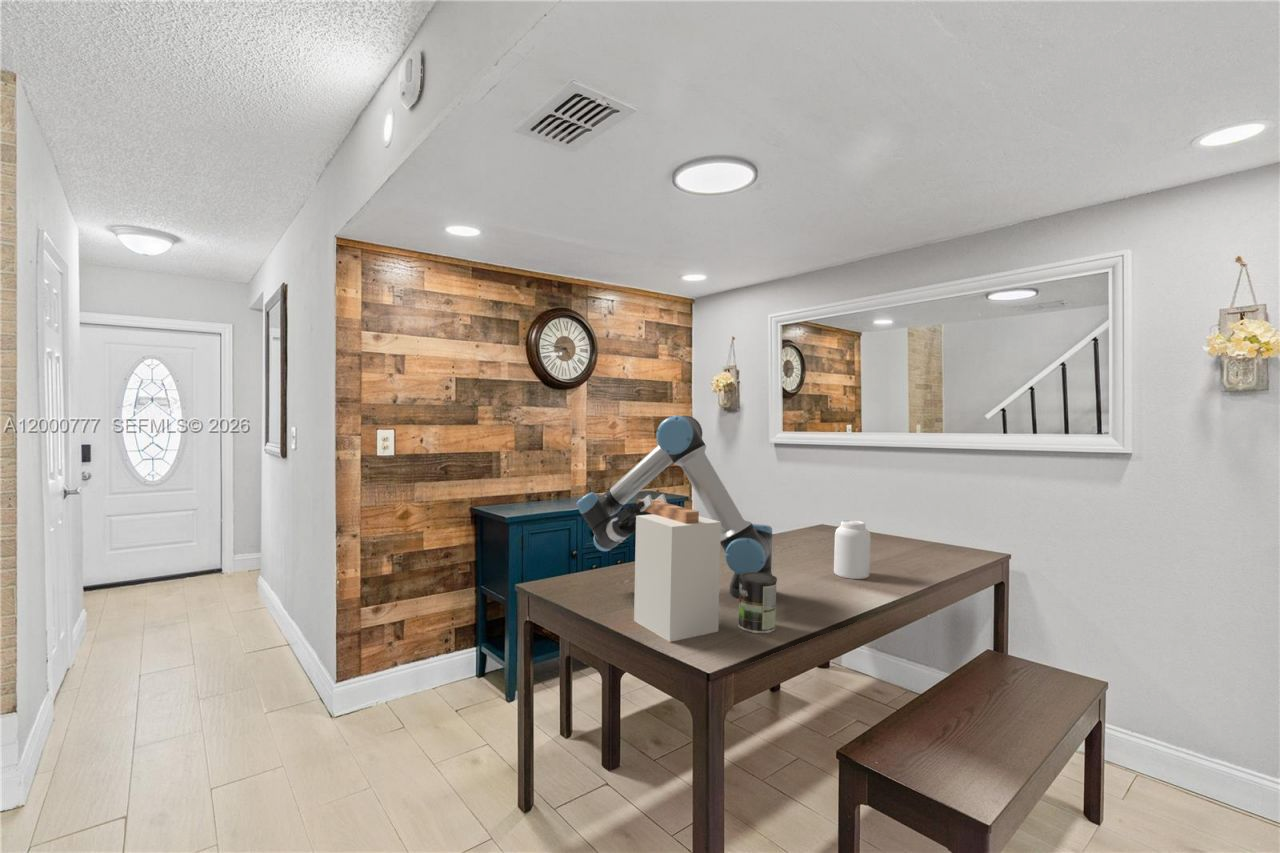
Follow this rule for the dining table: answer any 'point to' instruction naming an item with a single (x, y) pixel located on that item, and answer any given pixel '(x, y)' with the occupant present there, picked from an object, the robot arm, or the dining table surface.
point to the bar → (672, 512)
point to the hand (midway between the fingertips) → (657, 498)
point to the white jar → (852, 550)
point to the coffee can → (757, 602)
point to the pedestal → (677, 576)
